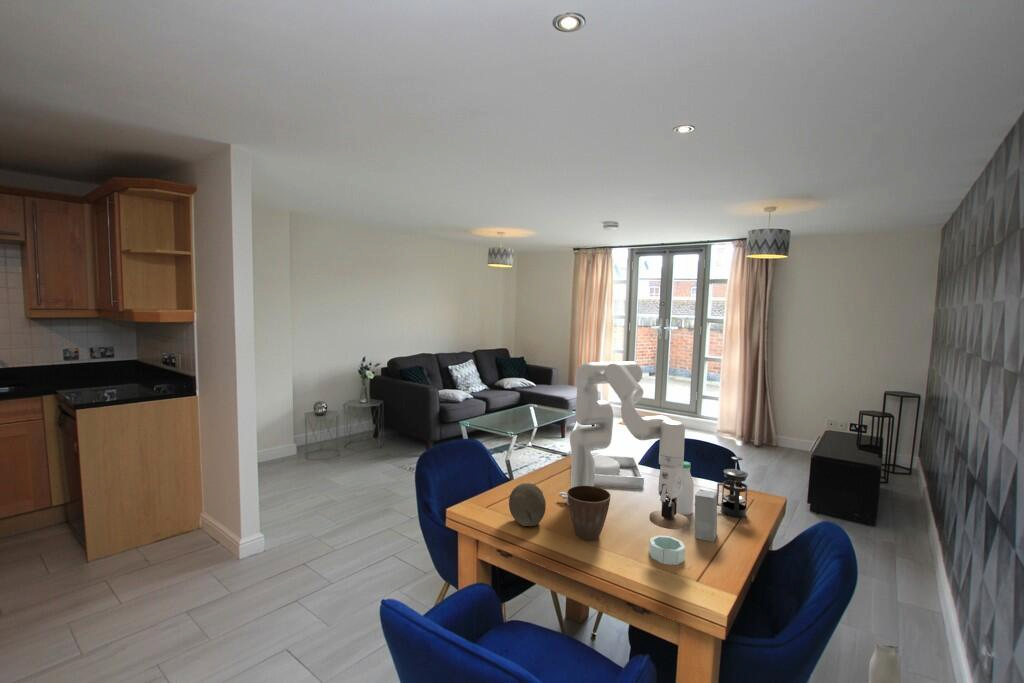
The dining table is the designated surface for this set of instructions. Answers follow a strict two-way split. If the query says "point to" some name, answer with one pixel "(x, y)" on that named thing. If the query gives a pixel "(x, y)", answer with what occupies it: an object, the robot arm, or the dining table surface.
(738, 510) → the french press
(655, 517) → the lid
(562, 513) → the dining table surface
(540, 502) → the grey stone egg
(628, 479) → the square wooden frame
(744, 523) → the dining table surface
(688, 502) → the milk bottle
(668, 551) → the bowl
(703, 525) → the skincare box
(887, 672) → the glass bottle
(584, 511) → the plant pot
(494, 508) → the dining table surface
